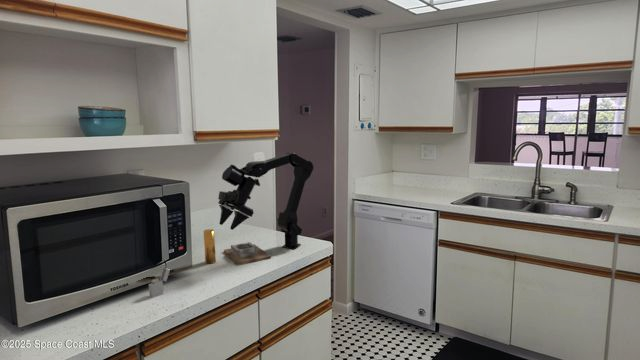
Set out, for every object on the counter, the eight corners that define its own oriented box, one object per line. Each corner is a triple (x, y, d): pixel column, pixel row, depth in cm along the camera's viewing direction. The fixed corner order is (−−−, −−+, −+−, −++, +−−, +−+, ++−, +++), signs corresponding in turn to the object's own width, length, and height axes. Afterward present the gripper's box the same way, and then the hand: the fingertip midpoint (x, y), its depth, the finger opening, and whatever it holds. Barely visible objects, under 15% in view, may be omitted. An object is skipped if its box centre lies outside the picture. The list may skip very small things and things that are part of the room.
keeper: (254, 246, 179) (254, 237, 178) (270, 258, 163) (270, 249, 163) (223, 252, 172) (223, 243, 171) (237, 265, 156) (237, 255, 156)
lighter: (152, 298, 129) (150, 274, 128) (149, 296, 130) (147, 273, 129) (171, 290, 135) (170, 267, 133) (168, 288, 136) (167, 266, 134)
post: (209, 259, 163) (207, 228, 161) (217, 261, 161) (216, 229, 159) (203, 263, 159) (201, 231, 157) (211, 264, 158) (209, 232, 156)
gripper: (216, 179, 162) (198, 214, 158) (239, 185, 147) (219, 223, 144) (238, 191, 168) (221, 225, 165) (261, 197, 154) (243, 235, 151)
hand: (225, 226), depth 156 cm, fingers open, 9 cm apart
